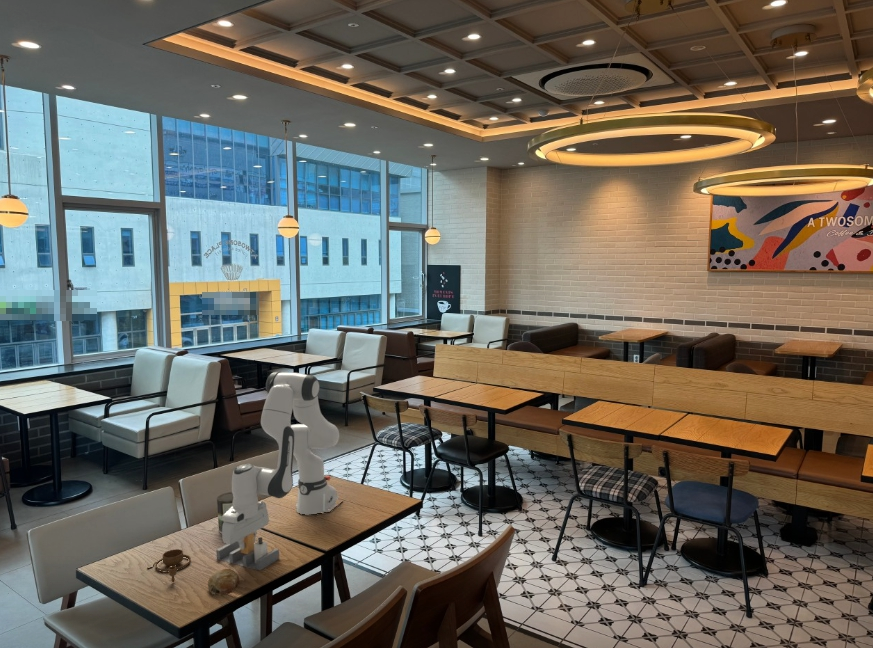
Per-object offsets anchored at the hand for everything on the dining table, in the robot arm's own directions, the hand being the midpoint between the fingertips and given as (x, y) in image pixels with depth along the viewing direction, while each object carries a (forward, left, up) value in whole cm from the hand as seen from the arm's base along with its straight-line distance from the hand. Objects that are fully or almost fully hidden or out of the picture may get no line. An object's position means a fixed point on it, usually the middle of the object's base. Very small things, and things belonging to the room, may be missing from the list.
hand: (247, 545), depth 224 cm
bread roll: (+18, +6, -6) cm, 20 cm away
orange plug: (0, 0, -2) cm, 2 cm away
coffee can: (-19, -28, -6) cm, 34 cm away
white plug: (0, +6, -5) cm, 8 cm away
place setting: (+17, -22, -7) cm, 29 cm away
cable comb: (0, 0, -6) cm, 6 cm away
